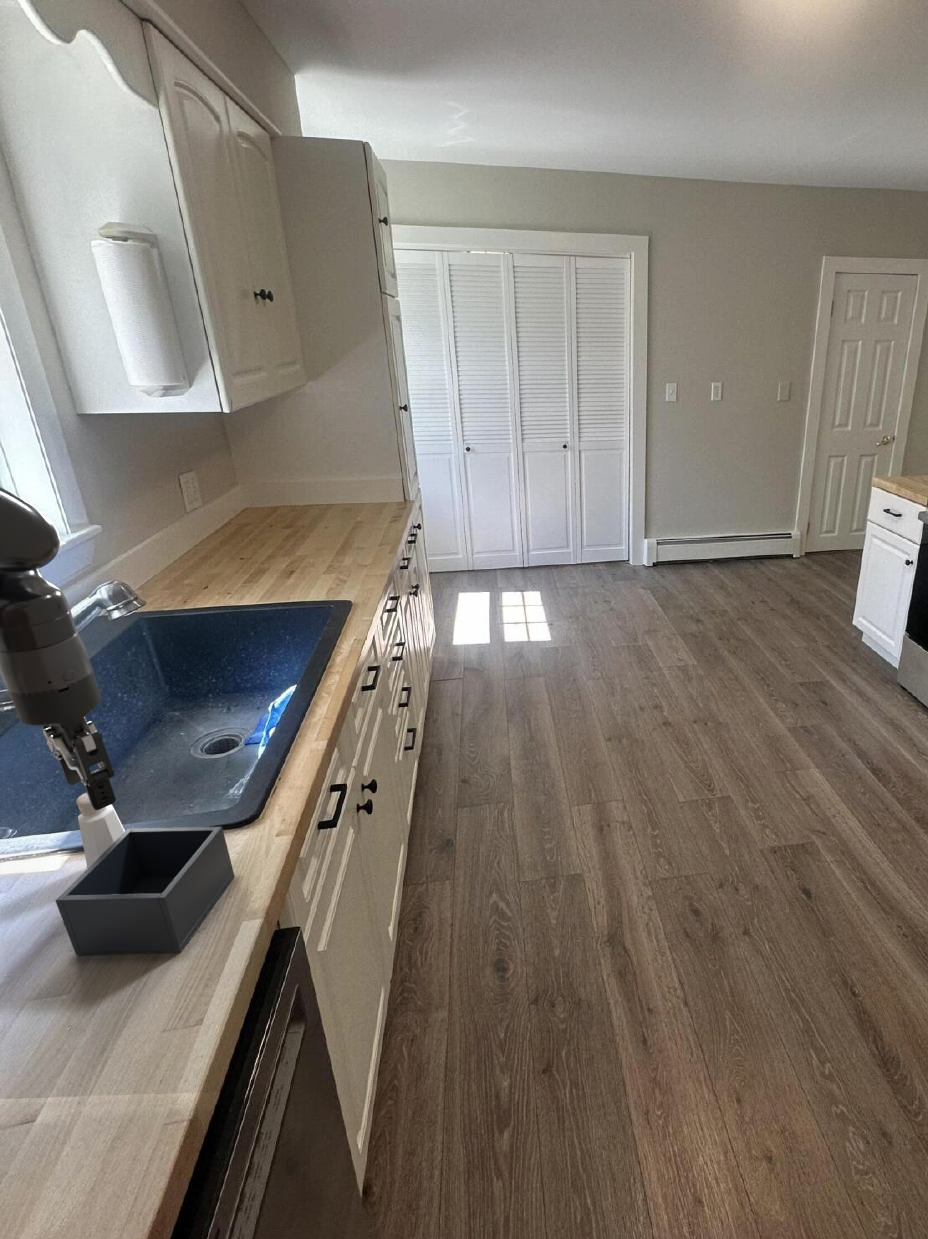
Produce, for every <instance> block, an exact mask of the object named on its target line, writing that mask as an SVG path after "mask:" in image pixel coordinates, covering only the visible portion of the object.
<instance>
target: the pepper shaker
mask: <svg viewBox="0 0 928 1239" xmlns="http://www.w3.org/2000/svg"><path fill="white" fill-rule="evenodd" d="M75 804H76V805H77V806H78V809H79V810H78V811H79V812H80V814H79V815H78V816H77V819H78V827H79V832H80V836H81V841H82V842H81V843H82V847H83V852H84V857H85V863H86V870H87V869H88V868H89V867H90V866H91V865H92V864H93V863H94V862H95V861H96V860H97V859H98V858H99V857H100V856H101V855H102V854H103V853H104V852H105V851H106V850H107V849H108V848H109V847H110V846H111V845H112V844H113V843H114V842H115V841H116V840H117V839H118V838H119V837H120V836H121V835H122V834H123V833H124V832H125V831H126V830H125V828H124V825H123V824H122V822H121V820H120V818H119V816H118V814H117V812H116V810H115V808H114V806H113V804H111V805H109V806H107V807H104V808H102V809H100V810H95V809H94V808H93V807H92V806H91V803H90V800H89V797H88V795H87V792H84V793H82V794H81V795H79V796H78V797H77V798H76V800H75Z"/></svg>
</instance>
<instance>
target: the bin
mask: <svg viewBox="0 0 928 1239" xmlns="http://www.w3.org/2000/svg"><path fill="white" fill-rule="evenodd" d="M223 828H224V827H223V826H189V827H187V826H186V827H185V826H183V827H139V828H137V827H136V828H135V827H134V828H127V829H126V830H125V832H124V833H123V834H122V835H121V836H120V837H119V838H118V839H117V840H116V841H115V842H114V843H113V844H112V845H111V846H110V847H109V848H108V849H107V850H106V851H105V852H104V853H103V854H102V855H101V856H100V857H99V858H98V859H97V860H96V861H95V862H94V863H93V864H92V865H91V866H90V867H89V868H88V869H87V868H86V870H84V872H83V873H81V874H80V876H78V877H77V878H76V879H75V880H74V882H72V883H71V884H70V885H69V886H68V887H67V889H66V890H64V891H63V892H62V893H61V894H60V895H59V896H58V897H57V898H56V899H55V903H56V906H57V909H58V912H59V915H60V917H61V919H62V922H63V924H64V927H65V931H66V932H67V935H68V938H69V940H70V943H71V946H72V948H73V951H74V954H75V956H102V955H103V956H107V955H109V956H110V955H139V954H142V955H143V954H177V953H178V954H179V953H182V952H183V950H185V948H186V946H187V945H188V944H189V942H190V941H191V939H192V938H193V936H194V935H195V933H196V932H197V931H198V929H199V928H200V926H201V925H202V923H203V922H204V921H205V920H206V919H207V916H208V915H209V914H210V913H211V911H212V909H213V908H214V907H215V905H216V904H217V902H218V901H219V900H220V899H221V897H222V895H223V894H224V893H225V891H226V890H227V888H228V887H229V886H230V884H231V882H232V881H233V880H234V878H235V877H236V876H235V872H234V869H233V868H234V867H233V865H232V860H231V856H230V852H229V849H228V845H227V841H226V836H225V832H224V829H223Z"/></svg>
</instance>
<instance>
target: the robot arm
mask: <svg viewBox="0 0 928 1239" xmlns="http://www.w3.org/2000/svg"><path fill="white" fill-rule="evenodd" d="M60 546H61V540H60V534H59V531H58V530H57V528H56V526H55V525H54V523H53V522H52V521H51V519H50V518H48V517H47V515H45V513H44V512H42V511H40V510H39V509H38V508H37V507H35V506H34V505H32V504H31V503H29V502H27V501H26V500H24V499H23V498H21V497H19V496H18V495H16V494H14V493H12V492H10V491H8V490H6V489H5V488H3V487H2V486H0V672H1V674H2V677H3V680H4V682H5V685H6V688H7V690H8V693H9V695H10V698H11V701H12V703H13V706H14V709H15V712H16V714H17V717H18V719H19V721H20V722H21V723H22V724H23V725H26V726H29V727H40V728H41V731H42V734H43V736H44V739H45V742H46V747H47V749H49V750H50V752H51V753H52V755H53V757H54V758H55V759H56V760H58V763H59V765H60V768H61V771H62V774H63V776H64V779H65V782H66V783H67V784H68V785H70V786H74V785H76V784H79V783H81V784H83V786H84V788H85V793H87V795H88V797H89V800H90V803H91V806H92V807H93V808H94V809H95V810H100V809H102V808H104V807H107V806H109V805H113V804H114V803H115V802H116V800H117V799H116V795H115V792H114V790H113V787H112V784H111V781H110V779H111V778H113V777H115V775H116V774H115V773H116V772H115V769H113V765H112V763H111V761H110V760H111V759H110V757H109V755H108V752H107V749H106V746H105V743H104V740H103V734H102V733H101V732H99V730H97V728H96V726H95V724H94V722H93V721H88V718H86V716H87V715H88V714H89V713H90V712H91V711H94V710H95V709H96V708H97V707H98V706H99V705H100V704H101V703H102V694H101V691H100V687H99V685H98V682H97V678H96V675H95V673H94V670H93V667H92V664H91V660H90V656H89V653H88V652H87V649H86V646H85V644H84V642H83V640H82V639H81V636H80V634H79V631H78V628H77V626H76V623H75V620H74V616H73V614H72V611H71V607H70V605H69V602H68V600H67V597H66V596H65V594H64V592H62V590H61V589H60V588H59V587H56V586H55V585H54V584H52V583H50V582H48V581H47V580H46V579H45V578H44V576H43V575H42V573H41V571H40V569H41V568H43V567H46V566H47V565H48V564H50V563H51V562H52V561H53V560H54V559H55V558H56V556H57V555H58V552H59V550H60ZM94 765H97V766H98V769H96V770H93V771H91V767H93V766H94Z"/></svg>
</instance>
